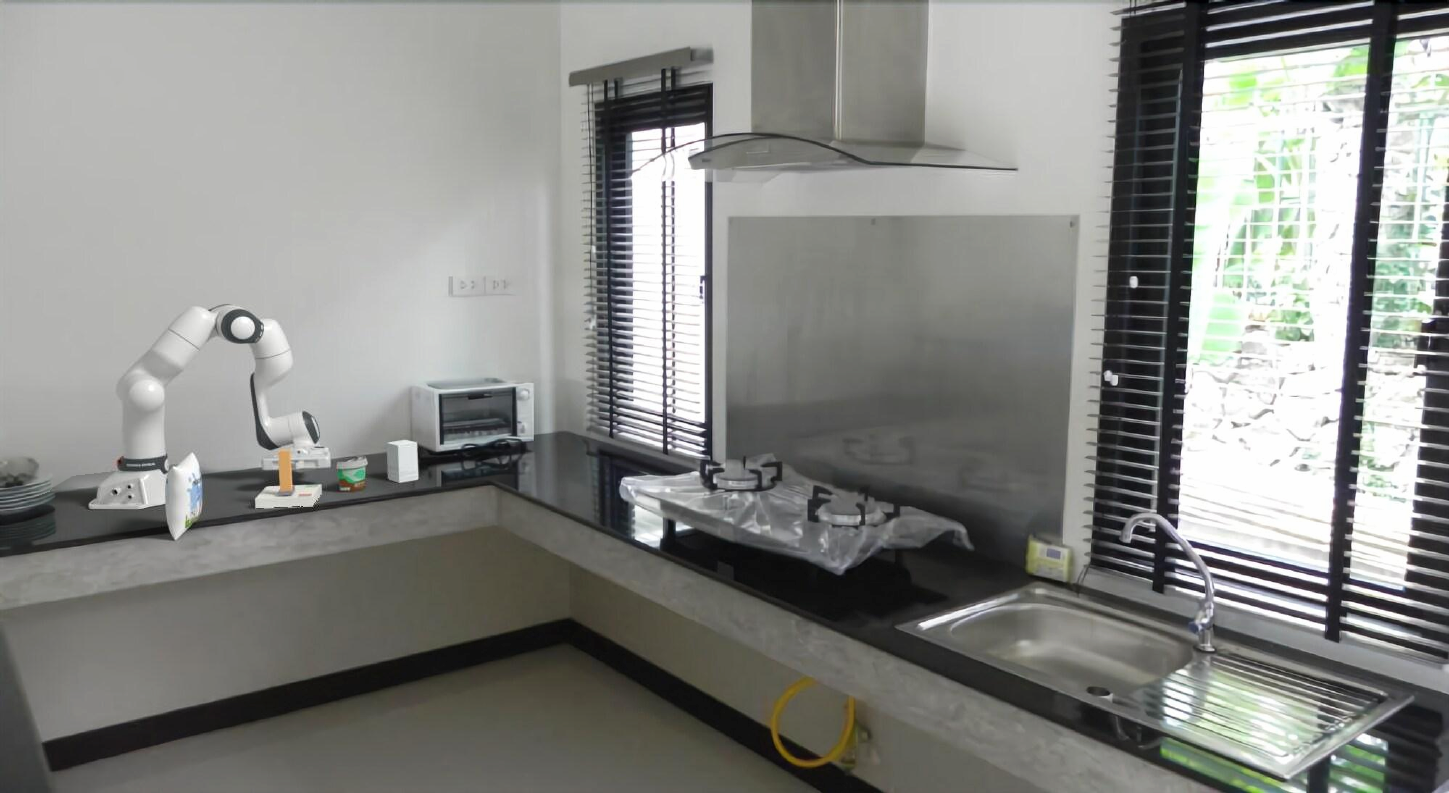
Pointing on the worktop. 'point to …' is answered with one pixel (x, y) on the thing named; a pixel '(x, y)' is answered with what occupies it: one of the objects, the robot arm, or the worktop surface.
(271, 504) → the white flat block
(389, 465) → the supplement box
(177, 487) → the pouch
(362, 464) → the food container
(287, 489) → the handle
